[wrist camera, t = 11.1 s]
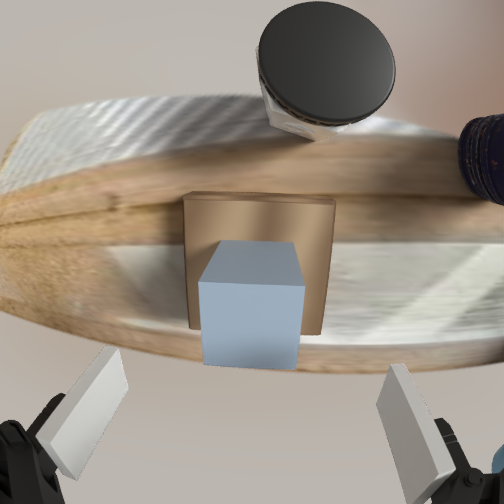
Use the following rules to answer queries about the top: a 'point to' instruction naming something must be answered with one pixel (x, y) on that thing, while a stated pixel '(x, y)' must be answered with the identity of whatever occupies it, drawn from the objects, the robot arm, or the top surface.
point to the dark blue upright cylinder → (483, 157)
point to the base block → (261, 239)
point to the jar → (323, 69)
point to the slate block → (252, 305)
